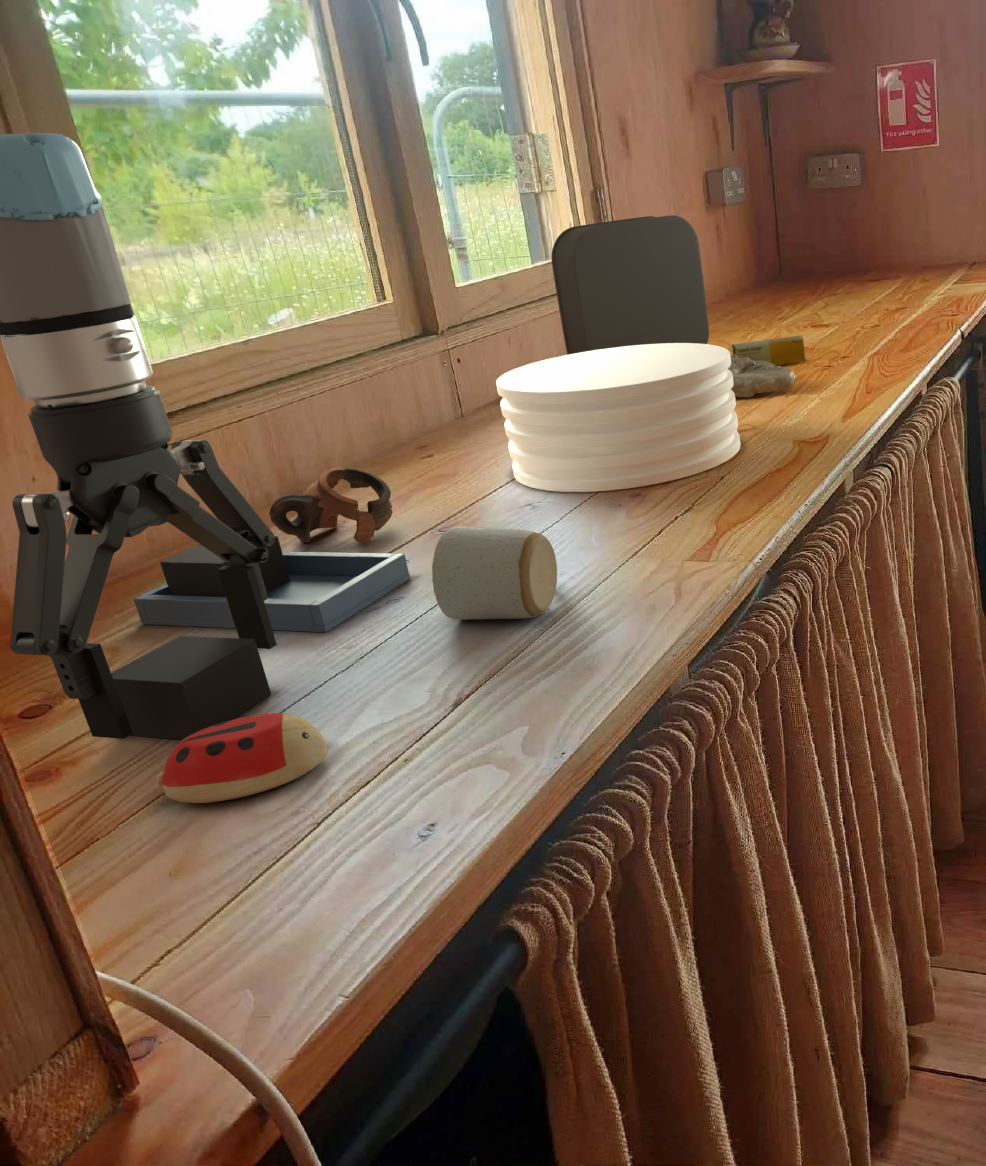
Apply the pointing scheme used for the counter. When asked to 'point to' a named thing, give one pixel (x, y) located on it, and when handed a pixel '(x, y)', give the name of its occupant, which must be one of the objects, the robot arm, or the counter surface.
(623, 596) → the counter surface
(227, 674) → the loose pad
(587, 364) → the plate stack
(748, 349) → the medication box
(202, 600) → the pad tray
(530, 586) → the ceramic mug
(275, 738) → the ladybug figurine
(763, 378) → the elongated rock
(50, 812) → the counter surface
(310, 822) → the counter surface
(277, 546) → the seated pad
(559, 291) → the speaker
